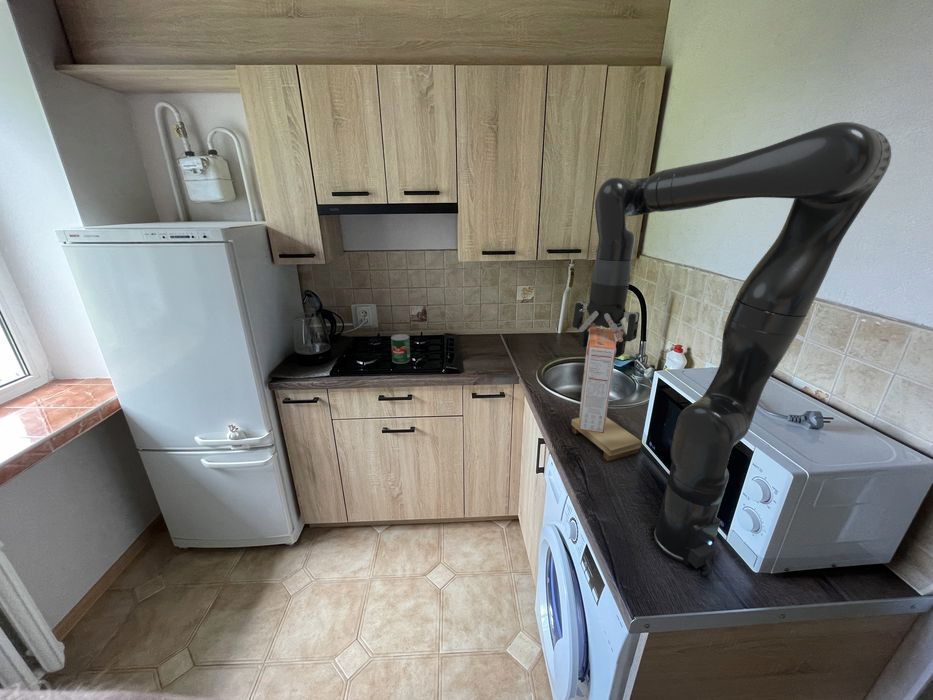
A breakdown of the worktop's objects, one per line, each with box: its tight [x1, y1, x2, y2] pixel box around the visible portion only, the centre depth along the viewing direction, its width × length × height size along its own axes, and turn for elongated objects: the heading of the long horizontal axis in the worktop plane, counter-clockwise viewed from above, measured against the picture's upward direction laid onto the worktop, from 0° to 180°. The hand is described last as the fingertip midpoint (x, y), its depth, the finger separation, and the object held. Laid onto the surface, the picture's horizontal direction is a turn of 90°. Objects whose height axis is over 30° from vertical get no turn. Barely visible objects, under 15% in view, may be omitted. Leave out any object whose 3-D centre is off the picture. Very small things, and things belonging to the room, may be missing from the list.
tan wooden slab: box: [570, 416, 643, 462], centre depth 112 cm, size 17×11×4 cm, turn 22°
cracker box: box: [578, 327, 616, 433], centre depth 89 cm, size 14×6×21 cm, turn 162°
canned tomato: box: [390, 333, 411, 365], centre depth 167 cm, size 8×8×11 cm
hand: (600, 351), depth 87 cm, fingers closed on cracker box, 8 cm apart
